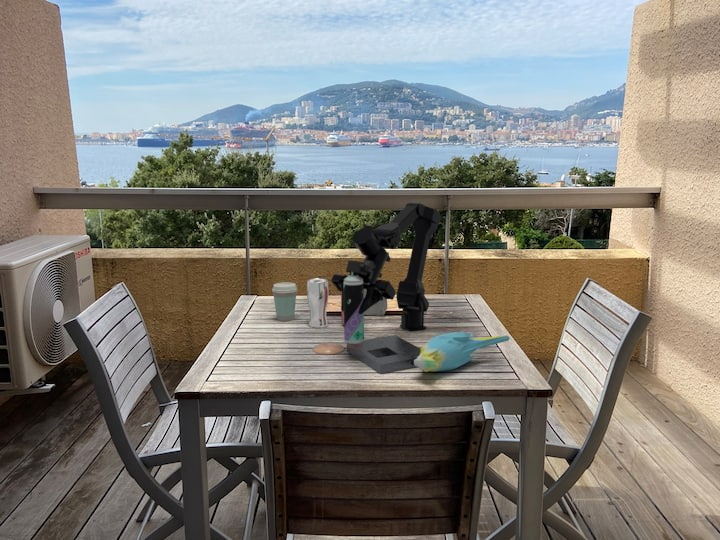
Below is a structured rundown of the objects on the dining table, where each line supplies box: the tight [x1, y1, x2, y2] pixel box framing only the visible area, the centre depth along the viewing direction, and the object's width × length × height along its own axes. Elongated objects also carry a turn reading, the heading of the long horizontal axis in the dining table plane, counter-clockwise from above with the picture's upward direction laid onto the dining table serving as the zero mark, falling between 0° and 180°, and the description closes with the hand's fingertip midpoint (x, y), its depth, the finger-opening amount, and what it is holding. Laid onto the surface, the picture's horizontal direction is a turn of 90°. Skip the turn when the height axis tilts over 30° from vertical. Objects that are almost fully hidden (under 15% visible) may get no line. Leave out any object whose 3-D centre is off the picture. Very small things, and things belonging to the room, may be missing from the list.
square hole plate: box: [346, 334, 421, 375], centre depth 170 cm, size 16×20×2 cm
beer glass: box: [306, 277, 329, 329], centre depth 200 cm, size 7×7×15 cm
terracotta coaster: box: [312, 342, 345, 356], centre depth 177 cm, size 9×9×1 cm
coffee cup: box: [271, 281, 298, 322], centre depth 208 cm, size 9×8×12 cm
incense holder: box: [364, 289, 388, 317], centre depth 214 cm, size 10×8×10 cm
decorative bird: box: [411, 331, 510, 373], centre depth 162 cm, size 14×30×9 cm, turn 132°
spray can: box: [343, 271, 365, 344], centre depth 168 cm, size 6×6×20 cm
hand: (350, 311), depth 167 cm, fingers closed on spray can, 5 cm apart
